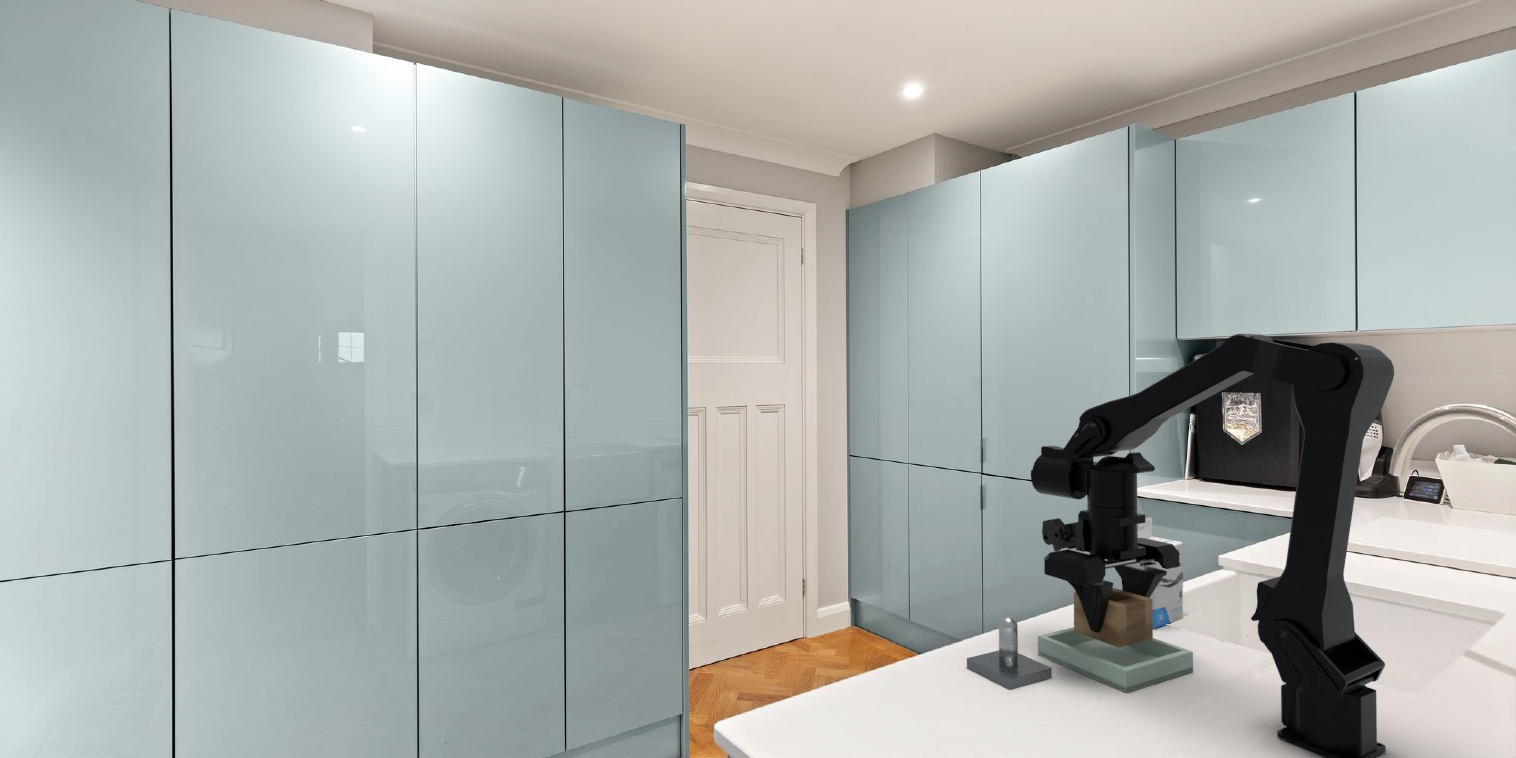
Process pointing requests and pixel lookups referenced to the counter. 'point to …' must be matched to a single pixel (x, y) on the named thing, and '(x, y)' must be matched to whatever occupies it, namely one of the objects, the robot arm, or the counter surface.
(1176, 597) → the ink box
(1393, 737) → the counter surface
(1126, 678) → the sage tray
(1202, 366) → the robot arm
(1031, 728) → the counter surface
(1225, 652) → the counter surface
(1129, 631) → the walnut block
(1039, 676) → the stand
